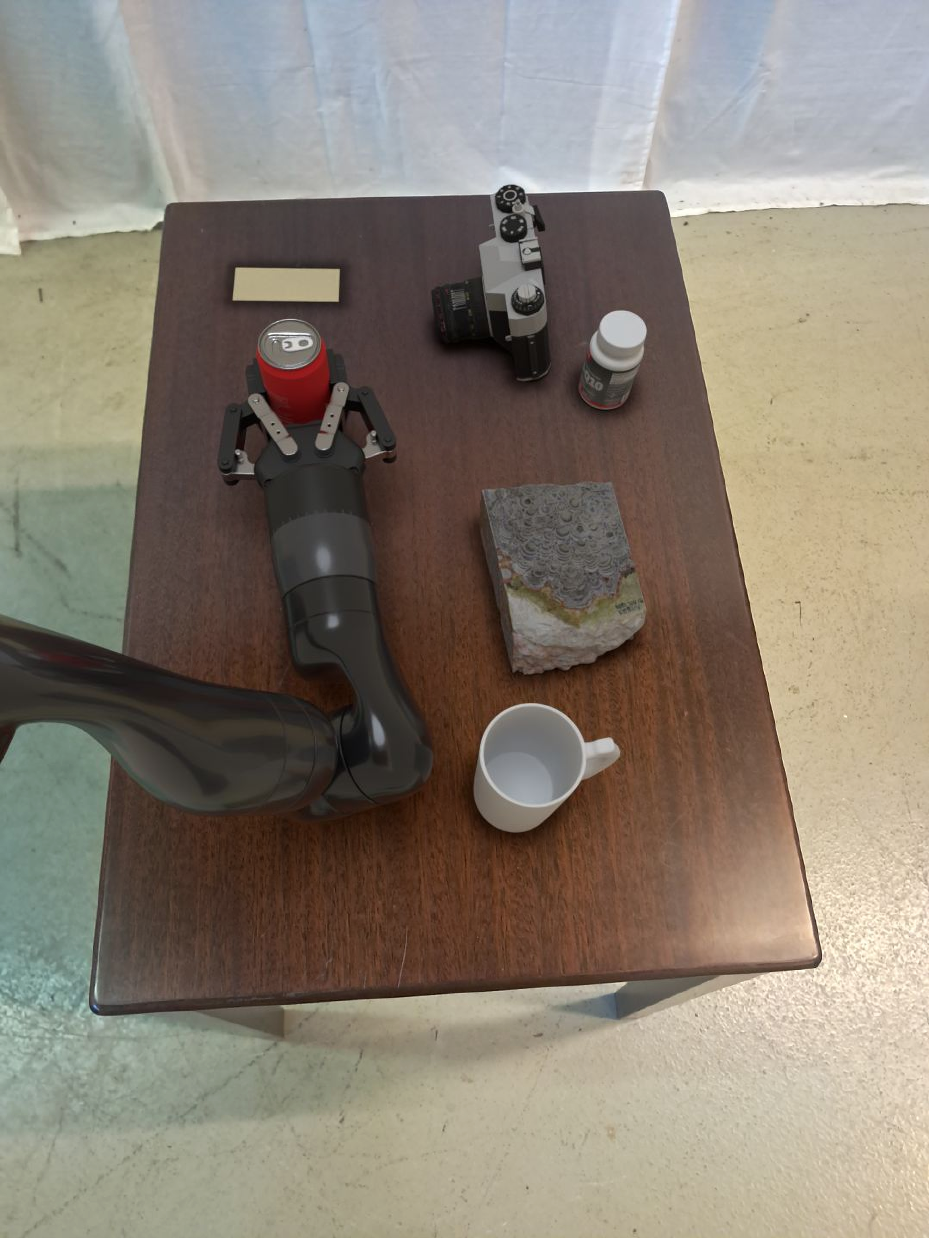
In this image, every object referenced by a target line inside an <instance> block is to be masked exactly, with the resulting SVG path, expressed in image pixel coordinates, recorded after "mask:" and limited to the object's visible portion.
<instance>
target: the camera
mask: <svg viewBox="0 0 929 1238" xmlns="http://www.w3.org/2000/svg"><path fill="white" fill-rule="evenodd" d="M489 197H490V205H491V211H492V218H493V223H490V224H489V225H488V228H489V229H490V230H494V232H495V233H494V234H495V237H494V238H492V239H489V240H487V241H485V242H482V243H481V244H479V245H478V252H479V259H480V267H481V273H482V276H477V277H472V278H468V279H465V280H463V281H462V282H455V283H452V284H451V283H445V284H444V285H442V286H440V285H437V286H435V288H434V289H431V292H430V293H431V303H432V311H433V316H434V322H435V327H436V332H437V336H438V339H439V342H440V343H444V344H445V345H447V344H449V343H458V342H460V341H467V340H471V339H472V340H480V339H481V340H482V339H487V338H492V339H493V340H494V341H496V343H498V344H499V345H501V346H502V347H503V348H504V349H505V350H506V351H508V352H509V353H510V354H511V355H513V361H514V362H513V363H514V368H515V374H516V380H517V381H520V382H527V381H532V380H538V379H539V380H540V378H542V377H544V376H545V375H547V374H548V373H549V370H550V368H551V366H552V363H551V361H552V360H551V354H550V342H549V327H548V314H547V311H548V310H547V301H546V294H545V287H544V286H546V276H545V266H544V260H543V253H542V249H541V246H539V239H538V236H536V234H535V229H534V228H536V229H537V232H538V233H542V232H546V224H545V222H544V219H543V218H542V215H541V212H540V209H539V206H538V204H534V205H530V202H529V196H528V195H527V194H526V191H525V189H524V188H523V187H521V185H517V184H513V183H512V184H506V185H503V186H502V187H499V189H498V190H497V191H496V192H494V193H492V194H490V195H489ZM532 215H533V218H532Z"/></svg>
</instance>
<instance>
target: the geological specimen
mask: <svg viewBox="0 0 929 1238" xmlns="http://www.w3.org/2000/svg"><path fill="white" fill-rule="evenodd" d="M480 491H481V493H480V494H481V497H480V502H479V509H480V511H479V533H480V537H481V542H482V546H483V550H484V553H485V559H486V565H487V569H488V572H489V575H490V581H491V583H492V586H493V594H494V597H495V602H496V607H497V609H498V611H499V613H500V614H499V615H500V624H501V629H502V633H503V638H504V643H505V646H506V651H507V655H508V660H509V664H510V668H511V671H512V674H514V673H516V672H519V673H522V674H523V675H524V676H525V675H533V674H543V673H544V672H545V671H552V670H554V669H559V670H562V671H564V672H565V671H570V669H571V668H572V666H578V665H579V664H581V665H582V664H583V665H585V664H586V665H588V664H592V663H595V662H596V660H597V658H598V657H600V656H603V655H604V654H605V653H607V652H609V651H612V650H615V649H617V648H619V647H620V646H621V645H623V644H625V642H626V641H627V640H629V641H633V639H634V637H635V633H637V632H638V631H639V630H640V629H641V628H642V627H643V626H644V624H645V621H646V616H647V607H646V603H645V600H644V597H643V591H642V589H641V585H640V581H639V577H638V573H637V570H636V567H635V561H634V560H633V559H632V553H631V549H630V545H629V540H628V537H627V535H626V532H625V527H624V523H623V519H622V516H621V512H620V508H619V505H618V501H617V497H616V493H615V490H614V486H613V483H612V481H608V482H599V481H595V482H594V481H591V480H586V481H582V482H578V483H573V484H564V485H561V484H554V483H545V482H543V483H540V484H533V483H532V484H522V485H519V486H515V487H508V486H507V487H499V488H485V489H481V490H480Z"/></svg>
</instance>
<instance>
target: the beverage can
mask: <svg viewBox="0 0 929 1238" xmlns="http://www.w3.org/2000/svg"><path fill="white" fill-rule="evenodd" d="M324 341H325V340H323V338H322V336H321V335H320V333H319V332H318V330H317V329H316V327H314V325H312V324H311V323H310V322H307V321H306V320H302V319H297V318H285V319H280V320H277V321H275V322H272V323H271V324H269V325H268V326H266V327H265V328H264V329H263V330H262V332H261V333H260V335H259V337H258V341H257V347H256V357H257V360H258V364H259V367H260V371H261V375H262V379H263V383H264V386H265V389H266V393H267V396H268V400H269V404H270V409H271V410H272V411H274V412H275V414H276V415H277V417H278V418H279V420H280V421H281V423H282V424H283V425H284V424H291V423H296V424H305V423H308V422H311V421H313V420H320V419H323V417H324V414H325V410H326V407H327V404H329V402H330V399H331V395H332V393H331V386H330V380H329V378H330V375H329V368H328V361H327V354H326V349H327V348H326V344H325V342H324Z"/></svg>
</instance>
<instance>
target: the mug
mask: <svg viewBox="0 0 929 1238" xmlns="http://www.w3.org/2000/svg"><path fill="white" fill-rule="evenodd" d="M620 756H621V750H620V747H619V746H618V745H617V744H616V742H614V739H613V738H612V737H604V738H599V739H596V740H594V741H593V740H592V741H589V742H587V741H586V742H585V740H584V738H583V735H582V733H581V731H580V729H579V728H578V727H577V725H576V724H575V723H574V722H573V720H571V718H569V717H568V716H567V715H566V714H564V713H563V712H562V711H560V710H558V709H557V708H554V707H552V706H550V705H546V704H543V703H536V702H534V703H533V702H528V703H527V702H526V703H520V704H516V705H512V706H511V707H508V708H506V709H504V710H503V711H501V712H500V713H498V714H497V715H496V716H495V717H494V718H492V719H491V721H490V723H488V726H487V727H486V729H485V731H484V733H483V734H482V737H481V741H480V745H479V751H478V757H477V762H476V767H475V768H476V769H475V773H474V781H473V796H474V801H475V805H476V808H477V810H478V812H479V813H480V815H481V816H482V817H483V818H484V819H485V820H486V821H487V822H488V823H489V824H490V825H492V826H493V827H494V828H496V829H498V830H501V831H504V832H508V833H523V832H528V831H531V830H533V829H535V828H536V827H538V826H540V825H541V824H542V823H543V822H544V821H545V820H546V819H548V818H549V817H550V816H551V815H552V814H553V813H554V812H555V811H556V810H557V809H558V808H559V807H561V805H562V804H563V803H564V802H565V801H566V800H567V799H568V798H569V797H570V795H572V794H573V793H574V791H575V790H576V789H577V788H578V786H579V784H580V783H581V781H584V780H587V779H590V778H591V777H594V776H595V775H597V774H598V773H600V772H602V771H604V770H605V769H607V768H608V767H610V766H611V765H613V764H614V763H615V762H616V761H617V760H618V759H619V758H620Z"/></svg>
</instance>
